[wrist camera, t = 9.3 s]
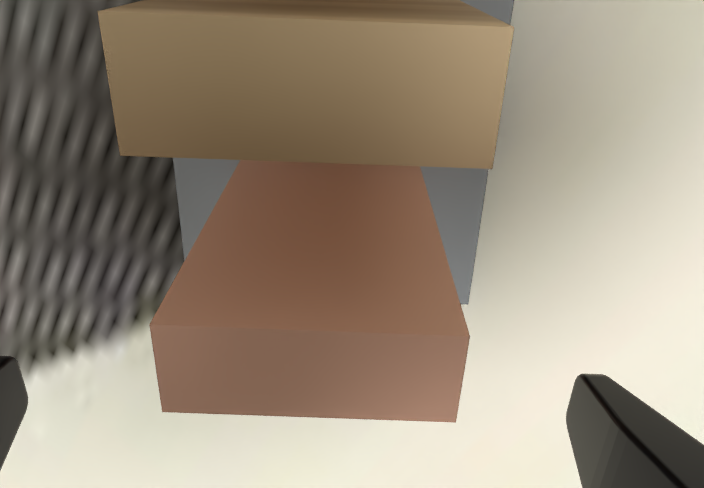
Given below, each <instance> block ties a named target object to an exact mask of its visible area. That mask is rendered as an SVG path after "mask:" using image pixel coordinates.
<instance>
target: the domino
mask: <svg viewBox="0 0 704 488" xmlns="http://www.w3.org/2000/svg"><path fill="white" fill-rule="evenodd" d="M98 17H99V24H100V30H101V36H102V43H103V49H104V56H105V62H106V69H107V75H108V81H109V88H110V94H111V101H112V107H113V114H114V120H115V127H116V133H117V139H118V146H119V152H120V156H143V157H171V158H199V159H227V160H255V161H283V162H312V163H340V164H368V165H396V166H424V167H452V168H481V169H492V168H493V161H494V155H495V148H496V142H497V135H498V129H499V122H500V116H501V109H502V103H503V96H504V90H505V83H506V77H507V70H508V64H509V58H510V51H511V45H512V38H513V32H514V27H513V26H511V25H509V24H507V23H505V22H503V21H501V20H499V19H497V18H495V17H493V16H490V15H488V14H486V13H484V12H482V11H480V10H478V9H476V8H474V7H472V6H470V5H468V4H466V3H464V2H462V1H460V0H143V1H139V2H135V3H130V4H126V5H122V6H118V7H114V8H109V9H105V10H101V11H98Z"/></svg>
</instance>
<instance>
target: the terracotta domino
mask: <svg viewBox="0 0 704 488" xmlns="http://www.w3.org/2000/svg"><path fill="white" fill-rule="evenodd" d="M150 331H151V338H152V344H153V351H154V358H155V365H156V372H157V379H158V386H159V393H160V400H161V406H162V412H178V413H206V414H234V415H263V416H291V417H319V418H348V419H376V420H404V421H433V422H456V418H457V412H458V406H459V399H460V393H461V387H462V381H463V375H464V369H465V363H466V357H467V351H468V345H469V339H470V335H469V332H468V328H467V325H466V322H465V318H464V315H463V311H462V308H461V305H460V301H459V298H458V294H457V291H456V287H455V284H454V281H453V277H452V274H451V270H450V267H449V264H448V260H447V257H446V253H445V250H444V247H443V243H442V240H441V236H440V233H439V230H438V226H437V223H436V219H435V216H434V213H433V209H432V206H431V202H430V199H429V196H428V192H427V189H426V185H425V182H424V178H423V175H422V172H421V168H420V166H396V165H368V164H340V163H312V162H283V161H255V160H240V161H239V163H238V165H237V167H236V169H235V171H234V172H233V174H232V176H231V178H230V180H229V181H228V183H227V185H226V187H225V189H224V190H223V192H222V194H221V196H220V198H219V200H218V201H217V203H216V205H215V207H214V209H213V210H212V212H211V214H210V216H209V218H208V219H207V221H206V223H205V225H204V227H203V229H202V230H201V232H200V234H199V236H198V238H197V239H196V241H195V243H194V245H193V247H192V248H191V250H190V252H189V254H188V256H187V258H186V259H185V261H184V263H183V265H182V267H181V268H180V270H179V272H178V274H177V276H176V278H175V279H174V281H173V283H172V285H171V287H170V288H169V290H168V292H167V294H166V296H165V297H164V299H163V301H162V303H161V305H160V307H159V308H158V310H157V312H156V314H155V316H154V317H153V319H152V321H151V323H150Z"/></svg>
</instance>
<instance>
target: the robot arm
mask: <svg viewBox="0 0 704 488" xmlns="http://www.w3.org/2000/svg"><path fill="white" fill-rule="evenodd" d="M27 406H28V395H27V391H26V388H25V384H24V381H23V377H22V374H21V370H20V366H19V364H18V361H17V360H16V359H15V358H14V357H11V356H0V470H1V468H2V466H3V463H4V461H5V459H6V456H7V454H8V452H9V449H10V447H11V445H12V443H13V440H14V438H15V436H16V433H17V431H18V429H19V426H20V424H21V422H22V420H23V417H24V415H25V412H26V410H27ZM566 423H567V429H568V433H569V437H570V441H571V445H572V449H573V453H574V457H575V460H576V464H577V468H578V472H579V476H580V480H581V484H582V488H704V445H703V444H702V443H700V442H699V441H698V440H696V439H695V438H693V437H692V436H691V435H689V434H688V433H686V432H685V431H684V430H682V429H681V428H679V427H678V426H676V425H675V424H674V423H672V422H671V421H669V420H668V419H667V418H665V417H664V416H662V415H661V414H660V413H658V412H657V411H655V410H654V409H653V408H651V407H650V406H648V405H647V404H646V403H644V402H643V401H641V400H640V399H639V398H637V397H636V396H634V395H633V394H632V393H630V392H629V391H627V390H626V389H625V388H623V387H622V386H620V385H619V384H618V383H616V382H615V381H613V380H612V379H611V378H609V377H608V376H606V375H603V374H580V375H579V376H578V377H577V378H576V380H575V383H574V387H573V390H572V394H571V398H570V401H569V405H568V409H567V413H566Z"/></svg>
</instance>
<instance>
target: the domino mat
mask: <svg viewBox="0 0 704 488" xmlns="http://www.w3.org/2000/svg"><path fill="white" fill-rule="evenodd" d="M460 1H462V2H464V3H466V4H468V5H470V6H472V7H474V8H476V9H478V10H480V11H482V12H484V13H486V14H488V15H490V16H493V17H495V18H497V19H499V20H501V21H503V22H505V23H507V24H509V25H510V23H511V16H512V10H513V3H514V0H460ZM239 161H240V160H227V159H199V158H173V163H174V172H175V181H176V190H177V198H178V207H179V216H180V225H181V234H182V243H183V252H184V261H185V259H186V258H187V256H188V254H189V252H190V250H191V248H192V247H193V245H194V243H195V241H196V239H197V238H198V236H199V234H200V232H201V230H202V229H203V227H204V225H205V223H206V221H207V219H208V218H209V216H210V214H211V212H212V210H213V209H214V207H215V205H216V203H217V201H218V200H219V198H220V196H221V194H222V192H223V190H224V189H225V187H226V185H227V183H228V181H229V180H230V178H231V176H232V174H233V172H234V171H235V169H236V167H237V165H238V163H239ZM420 168H421V172H422V175H423V178H424V182H425V185H426V189H427V192H428V196H429V199H430V202H431V206H432V209H433V213H434V216H435V219H436V223H437V226H438V230H439V233H440V236H441V240H442V243H443V247H444V250H445V253H446V257H447V260H448V264H449V267H450V270H451V274H452V277H453V281H454V284H455V287H456V291H457V294H458V298H459V301H460V304H468V302H469V295H470V288H471V282H472V275H473V268H474V262H475V255H476V249H477V242H478V235H479V229H480V222H481V215H482V209H483V202H484V195H485V189H486V182H487V176H488V169H481V168H452V167H424V166H420Z"/></svg>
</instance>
